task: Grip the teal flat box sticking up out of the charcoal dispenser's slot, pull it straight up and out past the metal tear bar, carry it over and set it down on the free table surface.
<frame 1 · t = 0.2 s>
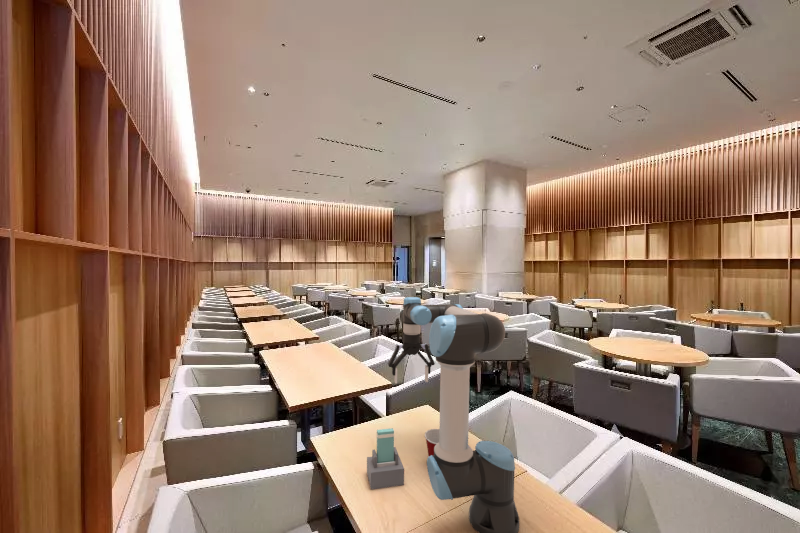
hand: (411, 381, 153), 28 cm above the table, fingers open, 13 cm apart
dispenser: (384, 478, 131), on the table
teal flat box: (385, 462, 131), point 6 cm above the table, touching dispenser
plastic cup: (437, 465, 140), on the table
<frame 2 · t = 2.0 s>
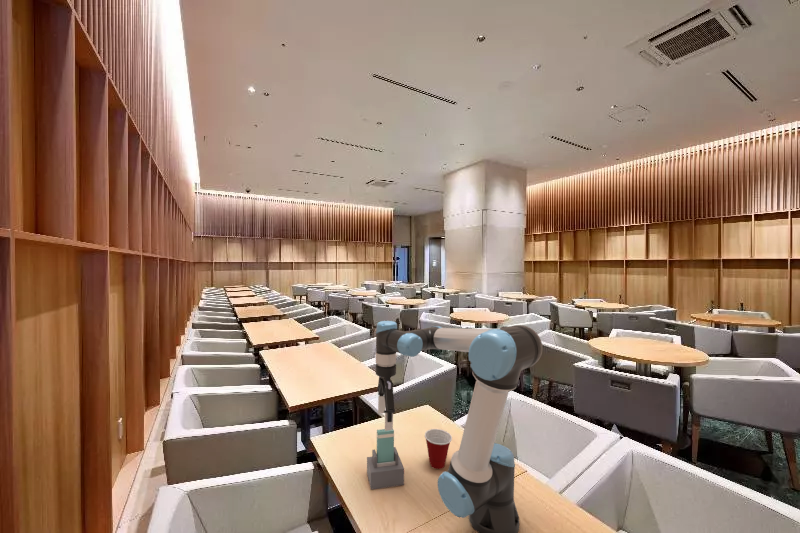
hand: (385, 421, 130), 21 cm above the table, fingers open, 13 cm apart
nothing on the table moved.
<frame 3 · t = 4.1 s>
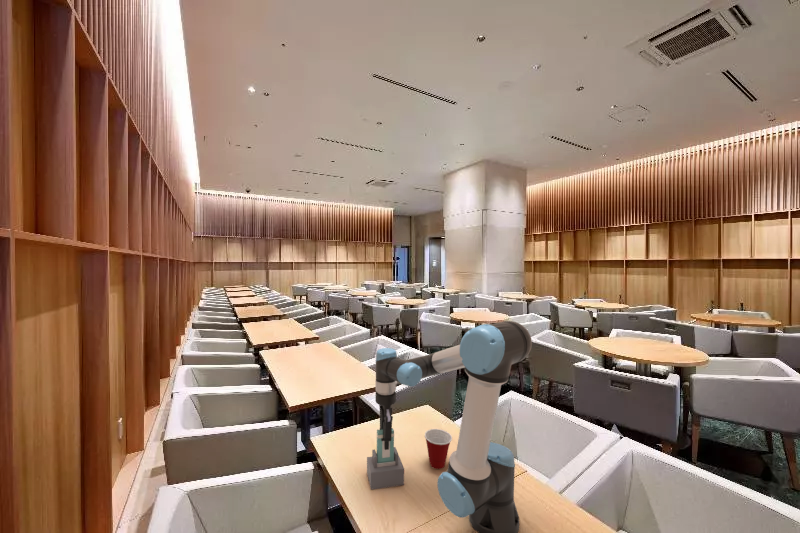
hand: (385, 454, 130), 9 cm above the table, fingers closed on teal flat box, 2 cm apart
teal flat box: (385, 462, 131), point 6 cm above the table, touching dispenser, gripper
everything else where it was.
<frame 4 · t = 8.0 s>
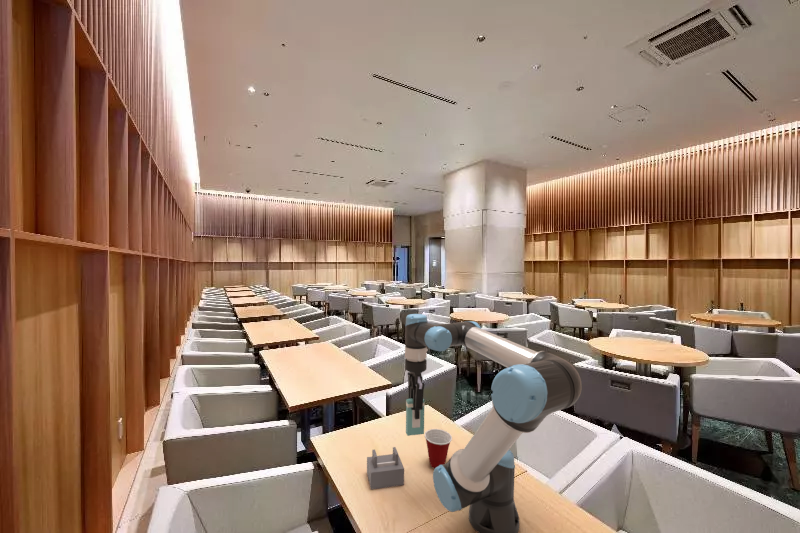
hand: (414, 425, 124), 23 cm above the table, fingers closed on teal flat box, 2 cm apart
teal flat box: (414, 433, 125), point 20 cm above the table, touching gripper
everything else where it was.
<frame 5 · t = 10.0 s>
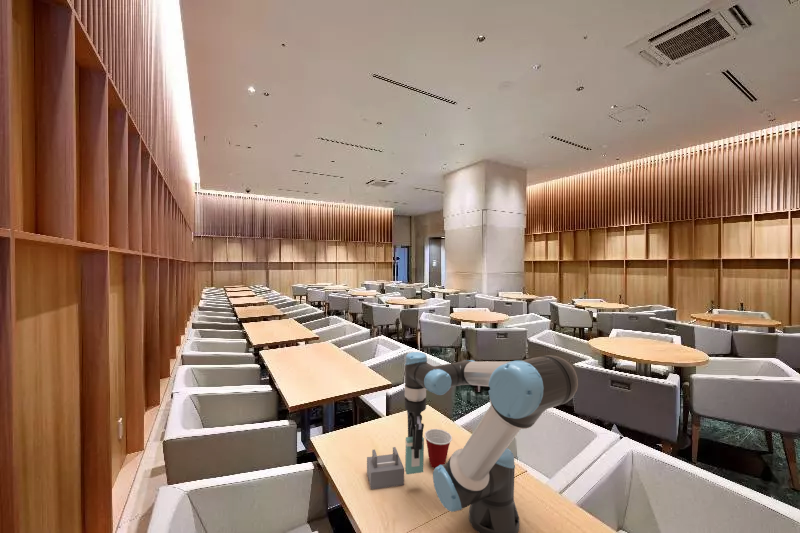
hand: (414, 463, 125), 9 cm above the table, fingers closed on teal flat box, 2 cm apart
teal flat box: (414, 471, 125), point 6 cm above the table, touching gripper
everything else where it was.
when the fingers open (3 cm above the table, at t = 11.8 s): teal flat box stays where it is, on the table.
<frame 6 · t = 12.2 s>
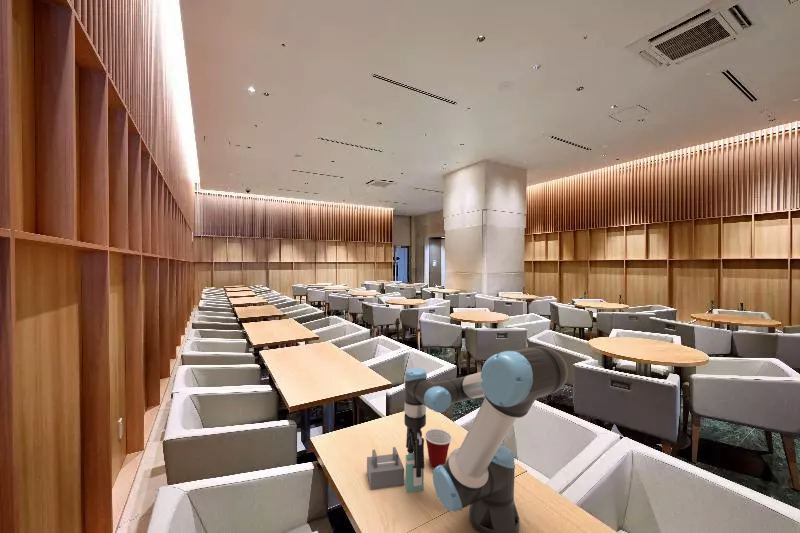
hand: (414, 477, 125), 4 cm above the table, fingers open, 7 cm apart
teal flat box: (414, 489, 125), on the table
everything else where it was.
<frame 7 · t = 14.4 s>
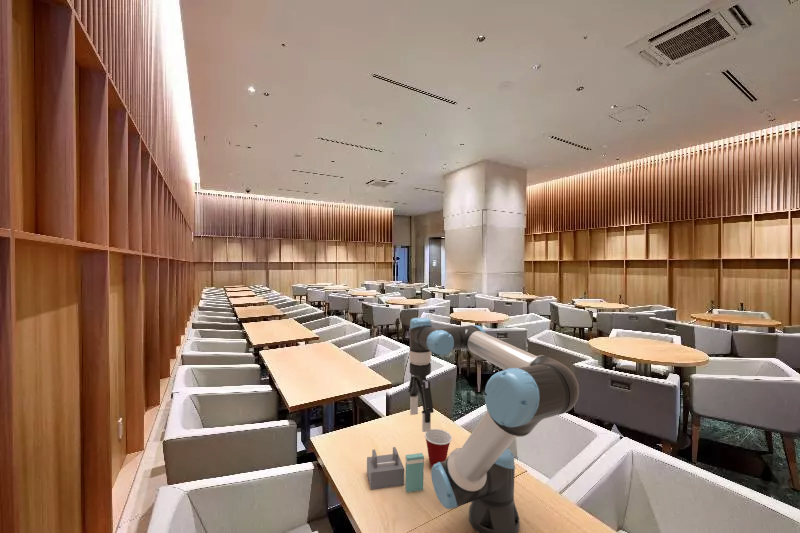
hand: (419, 422, 125), 24 cm above the table, fingers open, 13 cm apart
nothing on the table moved.
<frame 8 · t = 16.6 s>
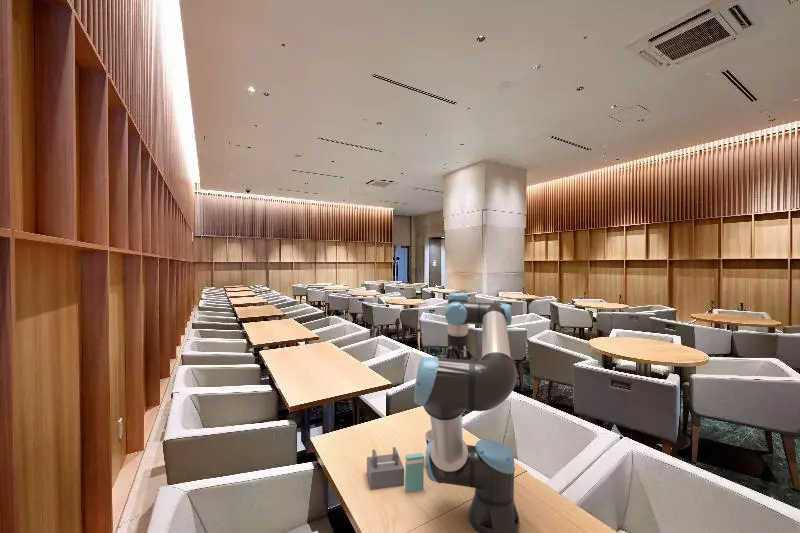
hand: (456, 390, 134), 32 cm above the table, fingers open, 13 cm apart
nothing on the table moved.
at the end: teal flat box inside the target area (0.0 cm from its centre), on the table; teal flat box touching table; the gripper is holding nothing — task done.
